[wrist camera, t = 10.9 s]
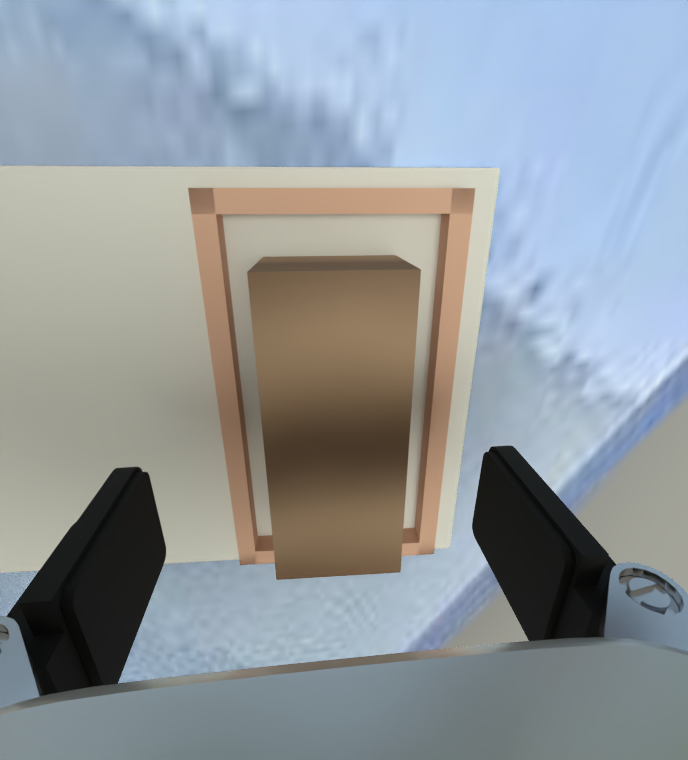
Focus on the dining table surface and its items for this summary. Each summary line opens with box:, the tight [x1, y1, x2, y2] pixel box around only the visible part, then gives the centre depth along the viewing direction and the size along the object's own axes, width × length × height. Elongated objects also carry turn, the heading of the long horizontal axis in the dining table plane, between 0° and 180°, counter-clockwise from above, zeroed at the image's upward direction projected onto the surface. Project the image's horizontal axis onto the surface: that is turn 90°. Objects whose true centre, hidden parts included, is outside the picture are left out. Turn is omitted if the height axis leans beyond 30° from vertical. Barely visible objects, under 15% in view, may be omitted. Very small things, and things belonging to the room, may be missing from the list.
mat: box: [0, 166, 500, 573], centre depth 17 cm, size 26×18×2 cm
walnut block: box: [247, 255, 421, 580], centre depth 16 cm, size 12×5×4 cm, turn 0°
